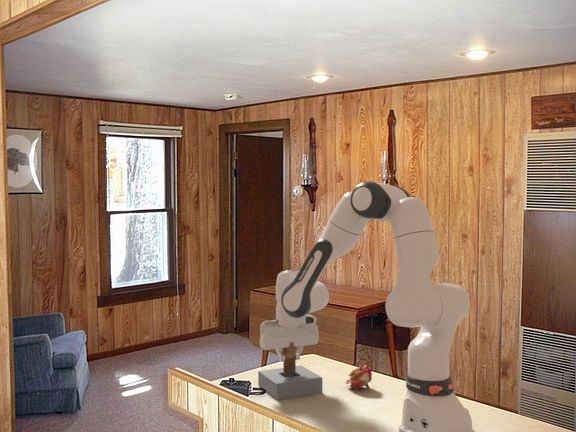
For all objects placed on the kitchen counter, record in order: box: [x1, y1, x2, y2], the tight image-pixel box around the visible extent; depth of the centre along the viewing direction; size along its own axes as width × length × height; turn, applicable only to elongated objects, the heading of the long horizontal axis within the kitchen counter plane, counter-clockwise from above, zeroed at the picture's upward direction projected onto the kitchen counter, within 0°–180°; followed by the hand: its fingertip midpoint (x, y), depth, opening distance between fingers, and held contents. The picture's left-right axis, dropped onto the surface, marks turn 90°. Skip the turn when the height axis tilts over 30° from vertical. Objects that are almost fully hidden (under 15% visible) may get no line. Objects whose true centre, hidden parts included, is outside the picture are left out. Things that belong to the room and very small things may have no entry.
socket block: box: [257, 365, 323, 401], centre depth 196 cm, size 16×16×5 cm
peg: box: [282, 342, 297, 373], centre depth 196 cm, size 4×4×10 cm
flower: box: [345, 364, 373, 390], centre depth 196 cm, size 10×9×8 cm
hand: (289, 360), depth 196 cm, fingers closed on peg, 4 cm apart
